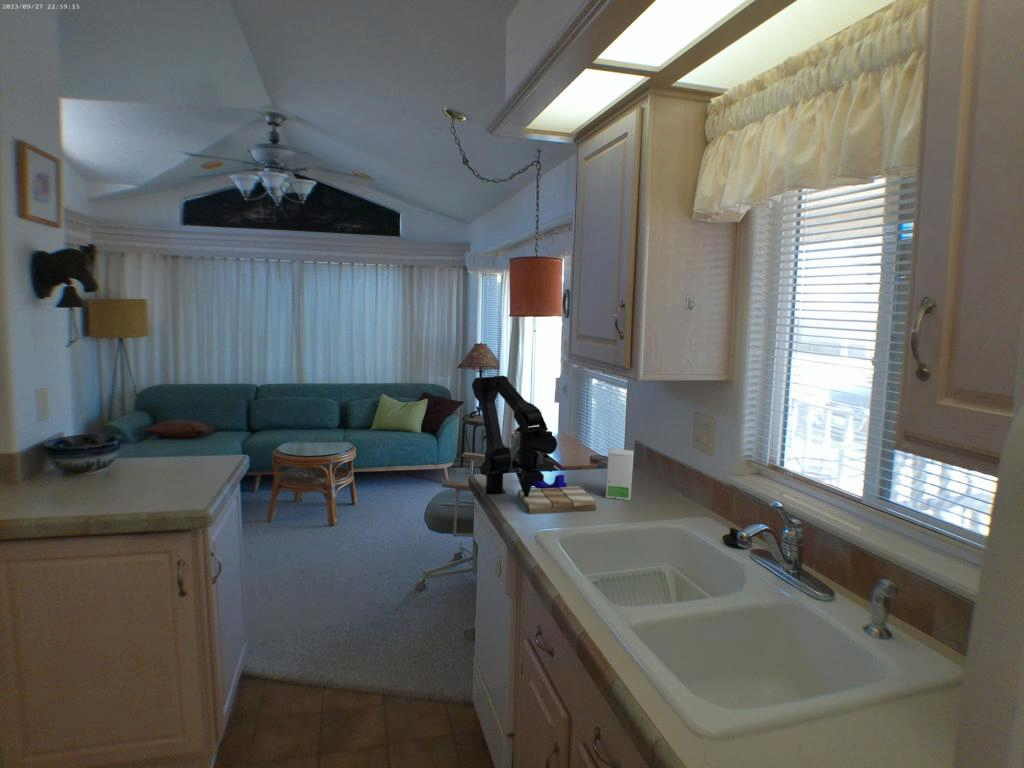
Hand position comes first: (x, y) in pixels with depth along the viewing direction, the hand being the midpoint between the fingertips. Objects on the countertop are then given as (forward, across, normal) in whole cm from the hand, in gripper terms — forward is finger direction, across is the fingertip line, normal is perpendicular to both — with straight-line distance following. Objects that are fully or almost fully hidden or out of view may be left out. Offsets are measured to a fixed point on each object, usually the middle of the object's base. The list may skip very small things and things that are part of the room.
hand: (526, 496), depth 191 cm
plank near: (+1, 0, -3) cm, 3 cm away
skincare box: (+2, +4, -33) cm, 33 cm away
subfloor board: (+2, 0, -10) cm, 10 cm away
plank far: (+1, 0, -17) cm, 17 cm away
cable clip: (+3, +16, -12) cm, 20 cm away
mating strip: (+1, 0, -10) cm, 10 cm away
